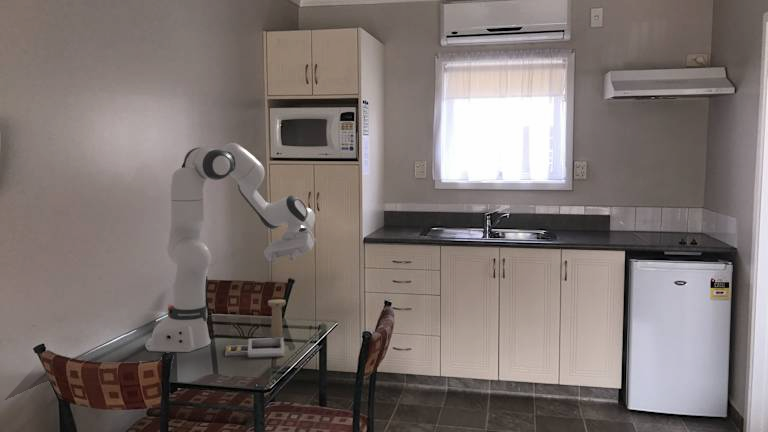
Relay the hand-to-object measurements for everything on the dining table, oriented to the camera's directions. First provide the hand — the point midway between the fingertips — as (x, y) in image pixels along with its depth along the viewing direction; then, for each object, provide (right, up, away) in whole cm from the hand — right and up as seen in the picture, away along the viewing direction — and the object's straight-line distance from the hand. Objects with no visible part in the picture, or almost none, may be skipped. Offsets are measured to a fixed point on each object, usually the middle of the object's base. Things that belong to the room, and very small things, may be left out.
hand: (281, 260), depth 247 cm
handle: (-1, -30, -3) cm, 30 cm away
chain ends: (-7, -31, -15) cm, 35 cm away
